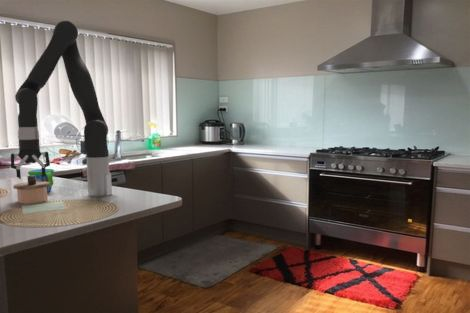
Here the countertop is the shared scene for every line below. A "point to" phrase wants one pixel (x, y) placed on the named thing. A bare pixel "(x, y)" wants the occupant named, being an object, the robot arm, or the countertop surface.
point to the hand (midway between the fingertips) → (31, 177)
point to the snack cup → (46, 178)
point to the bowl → (32, 195)
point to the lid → (31, 184)
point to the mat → (43, 207)
